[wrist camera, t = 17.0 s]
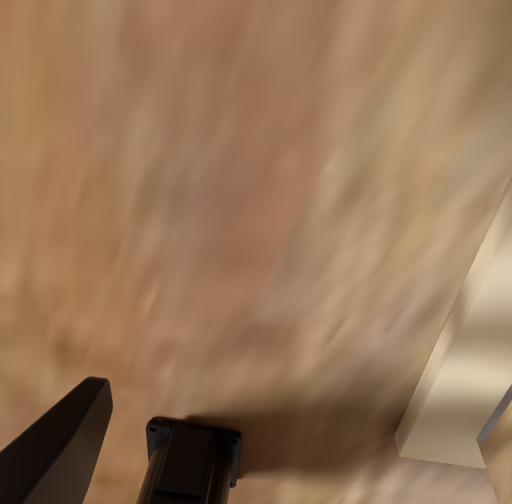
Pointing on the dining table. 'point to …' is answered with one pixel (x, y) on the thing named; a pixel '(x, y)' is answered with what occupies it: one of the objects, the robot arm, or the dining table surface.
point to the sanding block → (499, 448)
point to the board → (466, 359)
